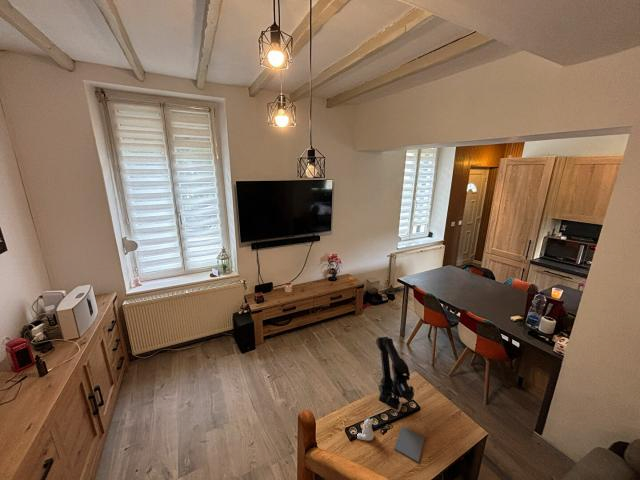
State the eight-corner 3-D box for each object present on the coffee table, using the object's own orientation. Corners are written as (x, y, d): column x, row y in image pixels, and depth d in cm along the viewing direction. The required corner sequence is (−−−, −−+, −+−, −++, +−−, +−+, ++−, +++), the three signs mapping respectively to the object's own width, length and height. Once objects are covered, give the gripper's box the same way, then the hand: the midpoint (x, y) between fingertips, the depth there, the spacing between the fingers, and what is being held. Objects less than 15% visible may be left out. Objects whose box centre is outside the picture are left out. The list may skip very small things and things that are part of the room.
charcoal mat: (394, 449, 136) (394, 447, 135) (401, 427, 147) (402, 426, 147) (418, 463, 129) (418, 461, 129) (424, 439, 141) (424, 437, 140)
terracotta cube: (390, 407, 148) (390, 400, 146) (392, 401, 152) (393, 394, 150) (398, 412, 145) (399, 405, 144) (401, 405, 149) (402, 398, 148)
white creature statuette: (362, 424, 149) (363, 407, 145) (377, 433, 144) (378, 416, 141) (354, 437, 141) (355, 420, 138) (369, 447, 137) (370, 430, 133)
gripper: (408, 402, 132) (405, 426, 136) (417, 377, 147) (414, 399, 151) (387, 392, 138) (384, 415, 142) (397, 369, 153) (395, 391, 157)
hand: (395, 405), depth 148 cm, fingers closed on terracotta cube, 5 cm apart
